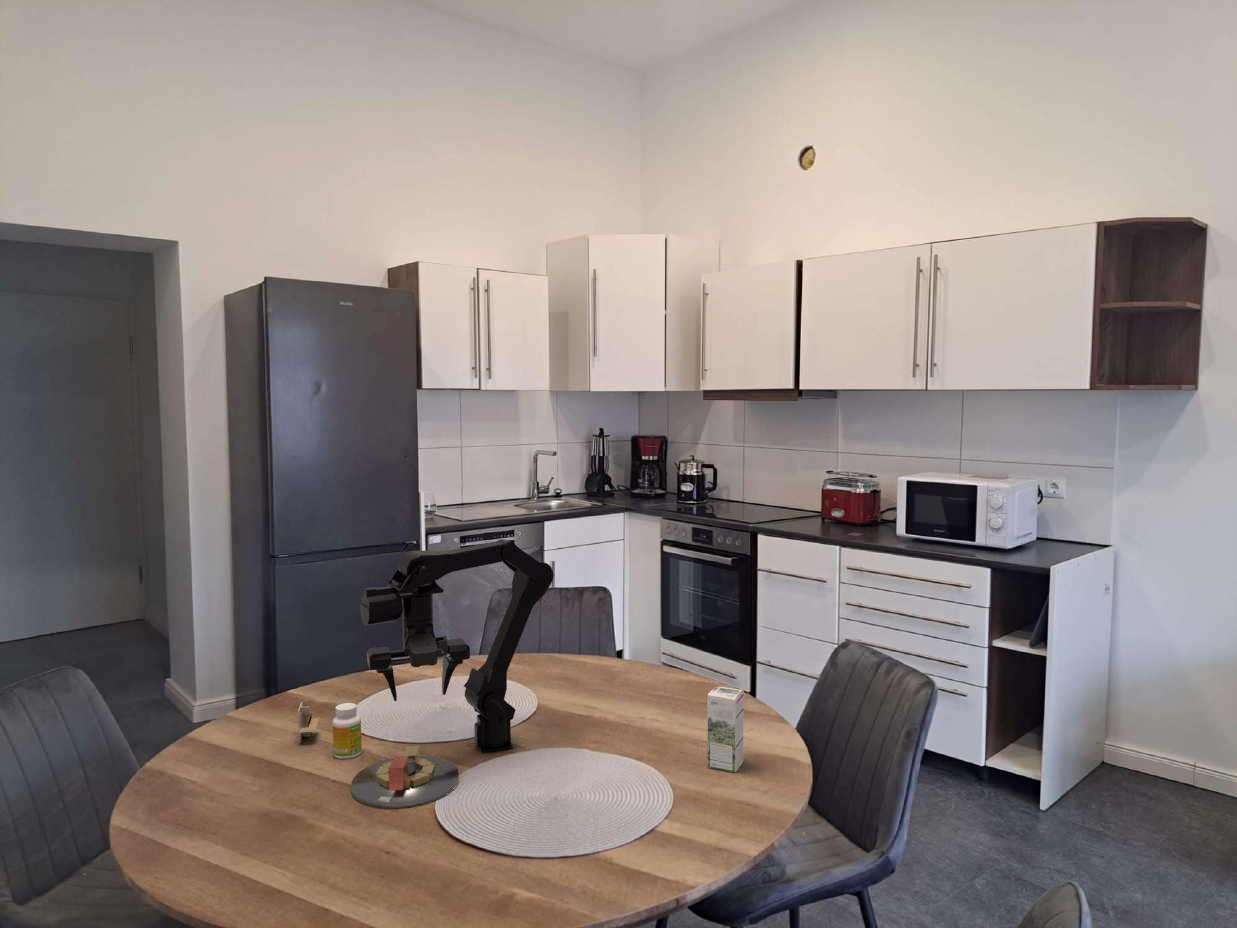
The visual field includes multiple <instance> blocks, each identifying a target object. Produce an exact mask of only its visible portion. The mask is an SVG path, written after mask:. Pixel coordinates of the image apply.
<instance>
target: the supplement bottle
mask: <svg viewBox="0 0 1237 928" xmlns="http://www.w3.org/2000/svg"><path fill="white" fill-rule="evenodd" d="M357 711H358V706H357V704H355V702H354V703H352V702H345V703H340V704H338V705H336V706H335V715H336V716H335V717H334V718H333V719H332V723H331V725H332V726H331V727H332V751H333V756H334V757H335V758H336V759H340V760H346V759H347V760H348V759H352V758H357V757H358V756H359V755H361V753H362V749H363V748H362V745H363V744H362V719H361V716H360V715H359V714H357V713H358V712H357Z"/></svg>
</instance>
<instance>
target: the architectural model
mask: <svg viewBox="0 0 1237 928" xmlns="http://www.w3.org/2000/svg"><path fill="white" fill-rule="evenodd" d="M303 704H304V703H303V701H301V702H300V704H299V707H298V708H297V728H298V731H297V733H298V734H297V735H298V736H297V737H298V744H299V743H300V744H301V742H302V740H303V738H308V737H309V738H311V734H313V732H316V730H317V727H318V724H319V721H320V717H313V711H311V708H310V706H308V705H307V706H303Z"/></svg>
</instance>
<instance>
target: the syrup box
mask: <svg viewBox="0 0 1237 928" xmlns="http://www.w3.org/2000/svg"><path fill="white" fill-rule="evenodd" d="M706 698H707V702H706V703H707V707H706V708H707V726H706V727H707V728H706V729H707V735H706V737H707V744H706V745H707V751H706V752H707V763H706V764H707V765H706V766H707V768H709V769H715V770H719V771H720V770H721V771H726V772H731V773H736V772H737V771H738V770H739V769H740V767H741V766H742V764H743V763H744V758H745V757H744V756H745V755H744V717H745V716H744V714H745V713H744V712H745V711H744V709H745V703H744V702H745V692H744V689H739V688H731V687H726V686H718V685H716V686H715V687H713V688H712V689H711V690H710V691H709V692H708V694H707V697H706Z"/></svg>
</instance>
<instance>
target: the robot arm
mask: <svg viewBox="0 0 1237 928" xmlns="http://www.w3.org/2000/svg"><path fill="white" fill-rule="evenodd" d="M496 563H497V564H498V563H503V564H504V565H505V566H506V568H508V569H510V570H511V571H512V572H513V576H512V581H511V595H512V596H511V599H510V602H509V604H508V607H507V608H506V611H505V614H504V616H503V618H502V621H501V623H500V625H499V628H498V631H497V633H496V636H495V638H494V641H493V643H492V645H491V648H490V651H489V652H488V655H487V658H486V660H485V661H484V664H482V666H480V667H479V668H478V669H476V668H474V667H472V668H471V670H469V671H470V672H469V676H468V679H467V680H466V682H465V683H464V684H463V687H464V688H465V690H464V697H465V700H466V702H467V704H468V705H470V706H471V707H472V708H473V709H474V712H475V713H478V714H477V715H476V722H475V723H474V726H473V729H474V743H475V746H476V747H477V748H478V749H479V751H480V752H481V753H483V754H485V753H489V752H490V753H492V752H496V751H503V750H504V751H505V750H509V749H510V750H511V749H514V745H513V743H512V738H511V736H512V732H511V731H512V730H511V729H512V728H511V724H512V723H511V721H512V720H514V717H515V713H516V708H514V707H513V706H512V705H511V704H510V703H508V702H507V701H506V700H505V698H506V694H507V691H508V690H507V689H508V670H509V668H510V665H511V663H512V660H513V658H514V655H515V654H516V651H517V648H518V646H519V642H520V640H521V638H522V636H523V633H524V631H525V628H526V625H527V623H528V621H529V618H530V615H531V613H532V611H533V608H534V606H535V605H536V604H537V603H538V602H539V601H540V600H541V599H542V598H543V597H544V596H545V595H546V593H547V591H548V589H549V588H550V586H551V585H552V583H553V580H554V576H555V573H554V571H553V568H552V567H551V565H550V564H549V563H547V562H544V561H541V560H538V559H536V558H534V557H533V556H531V555H530V554H529V553H527V552H526V551H525V550H522V549H521V548H520V547H519V546H517V544H516V543H515V542H512V541H510V540H507V539H498V540H497V541H492V542H488V543H486V542H485V543H482V544H475V545H471V546H470V545H469V546H466V547H460V548H456V549H450V550H445V551H444V550H443V551H442V550H440V551H439V550H438V551H437V550H409V551H407V552H404V553H403V554H402V556H401V557H400V558H399V560H398V563H397V569H396V570H395V572H394V573H393V575H391V577H390V579H389V581H388V582H387V583H386V586H382V587H381V586H380V587H364V588H363V595H362V597H361V602H360V603H359V612H360V618H361V621H362V624H363V625H364V626H373V625H380V624H387V623H393V622H394V623H395V622H397V620H399V618H401V616H402V641H403V642H402V643H403V645H402V646H403V649H401V650H399V649H398V650H390V647H389V646H378V647H377V646H376V647H370V648H369V649H368V650H367V651H366V658H367V659H366V661H367V666H368V668H369V671H375V672H376V673H377V674H382V675H383V677H384V678H385V680H386V682H387V685H388V687H389V690H390V693H391V696H392V698H393V701H394V702H397V701H398V700H397V695H398V694H397V688H396V682H395V676H394V673H395V672H394V669H393V666H392V663H393V662H400V661H408V660H409V663H410V666H411V667H413V668H420V667H424V666H425V667H426V666H436V665H437V664H438V658H442V675H441V676H442V677H441V690H442V691H441V692H442V695H443V696H445V695H446V694H447V690H448V688H449V684H450V681H451V678H452V676H453V673H454V672H455V669H456V668H457V666H458V665H462V664H463V663H464V660H469V659H470V658H471V648H470V645H469V644H468V643H467V642H466V640H464V638H454V639H452V638H451V639H448V638H447V636H436V635H435V632H434V631H435V630H434V594H435V595H436V594H442V593H444V591H445V589H444V588H443V587H441V586H440V585H439V584H438V583H437V580H440V579H442V578H444V577H445V576H447V575H449V574H451V573H455V572H458V571H462V570H468V569H472V568H478V567H483V566H487V565H488V566H489V565H493V564H496Z"/></svg>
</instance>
